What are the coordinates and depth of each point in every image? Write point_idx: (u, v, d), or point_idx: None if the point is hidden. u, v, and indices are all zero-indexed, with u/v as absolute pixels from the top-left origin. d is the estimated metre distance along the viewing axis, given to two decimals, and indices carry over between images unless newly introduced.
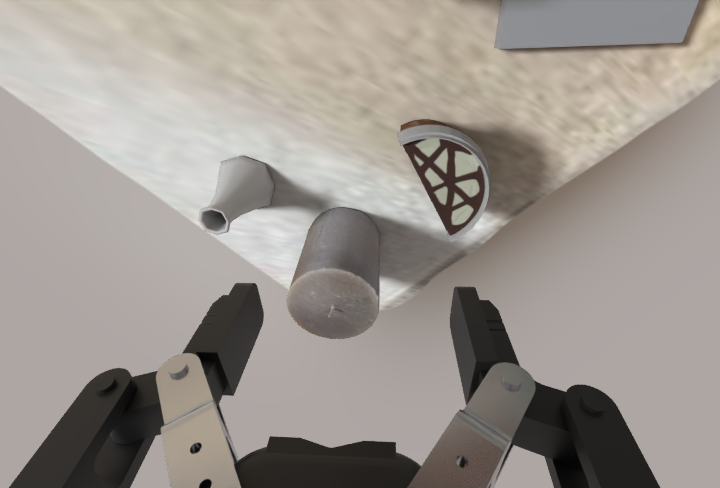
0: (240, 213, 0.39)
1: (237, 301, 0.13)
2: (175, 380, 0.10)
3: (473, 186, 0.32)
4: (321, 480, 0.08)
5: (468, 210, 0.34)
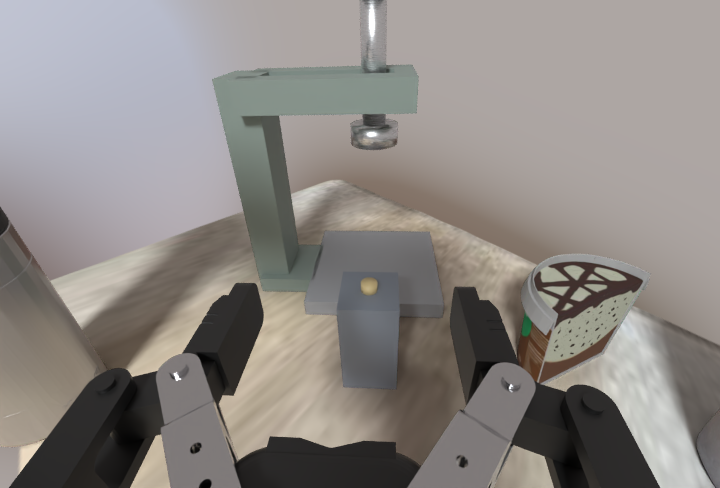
0: None
1: (237, 301, 0.13)
2: (175, 380, 0.10)
3: (571, 269, 0.32)
4: (321, 480, 0.08)
5: (600, 270, 0.32)
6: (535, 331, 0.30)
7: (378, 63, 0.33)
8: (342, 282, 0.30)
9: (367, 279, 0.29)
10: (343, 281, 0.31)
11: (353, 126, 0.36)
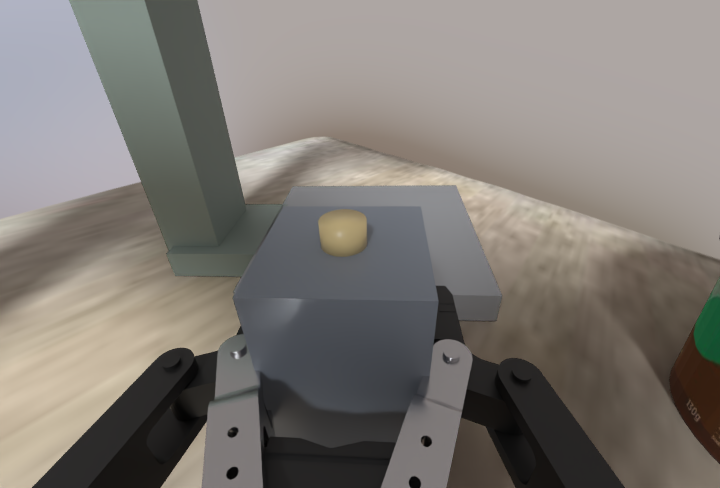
0: None
1: None
2: (236, 358, 0.10)
3: None
4: (321, 480, 0.08)
5: None
6: None
7: None
8: (274, 228, 0.11)
9: (338, 213, 0.10)
10: (278, 225, 0.12)
11: None
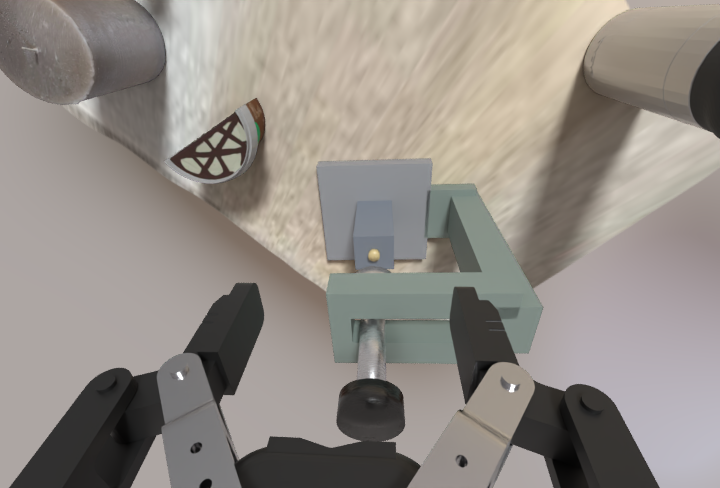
0: None
1: (237, 301, 0.13)
2: (176, 379, 0.10)
3: (217, 170, 0.42)
4: (321, 480, 0.08)
5: (196, 170, 0.42)
6: None
7: (367, 328, 0.32)
8: (393, 259, 0.44)
9: (375, 259, 0.43)
10: (392, 259, 0.44)
11: None
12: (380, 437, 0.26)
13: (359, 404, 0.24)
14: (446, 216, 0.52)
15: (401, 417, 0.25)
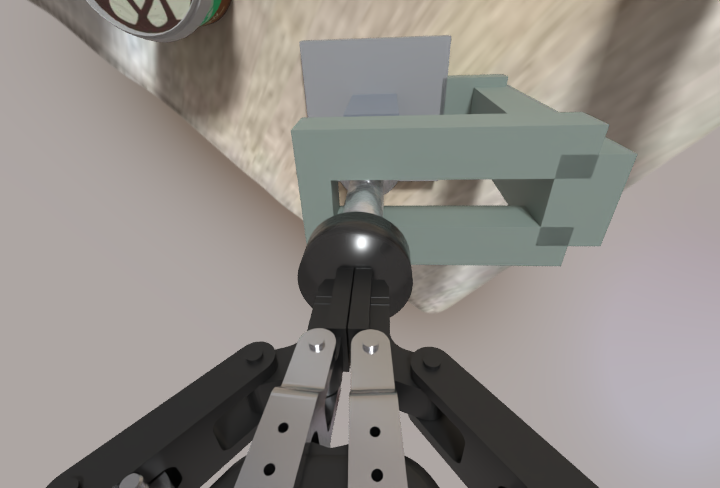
0: None
1: (346, 283, 0.13)
2: (318, 352, 0.10)
3: (160, 18, 0.31)
4: (321, 480, 0.08)
5: (132, 18, 0.31)
6: None
7: (356, 184, 0.21)
8: None
9: None
10: None
11: None
12: None
13: (335, 238, 0.14)
14: None
15: (407, 268, 0.14)
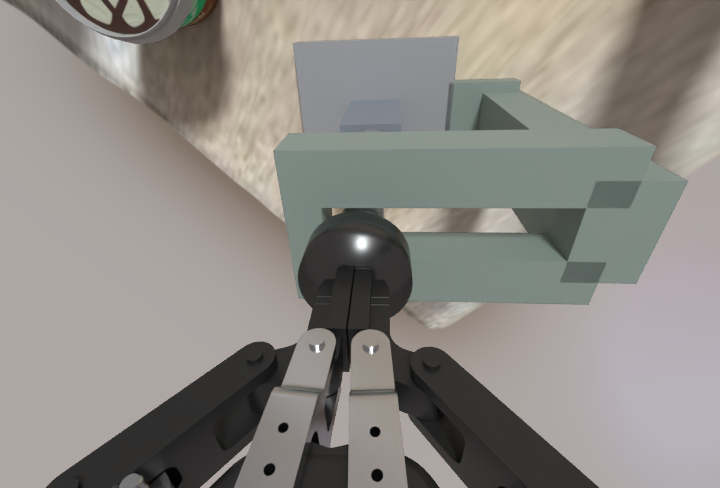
0: None
1: (346, 283, 0.13)
2: (318, 352, 0.10)
3: (136, 17, 0.28)
4: (321, 480, 0.08)
5: (105, 17, 0.28)
6: None
7: None
8: None
9: None
10: None
11: None
12: None
13: (334, 238, 0.14)
14: (474, 126, 0.37)
15: (407, 269, 0.14)
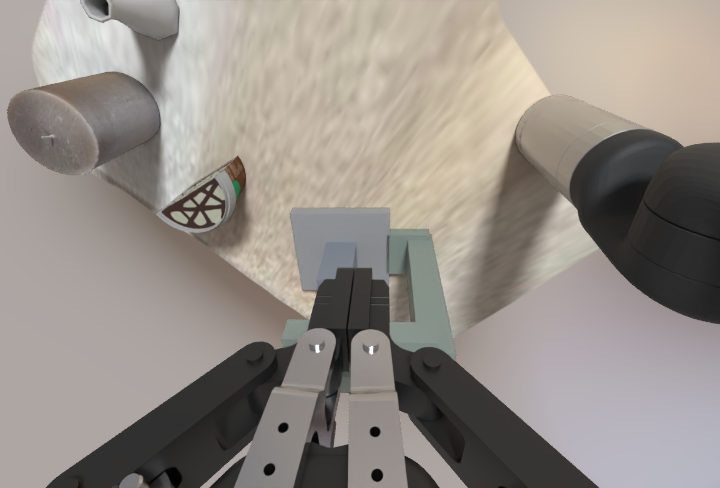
0: None
1: (346, 283, 0.13)
2: (318, 352, 0.10)
3: (201, 221, 0.49)
4: (321, 480, 0.08)
5: (184, 221, 0.49)
6: (230, 178, 0.48)
7: None
8: None
9: None
10: None
11: None
12: None
13: None
14: (404, 256, 0.59)
15: None
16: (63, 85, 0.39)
